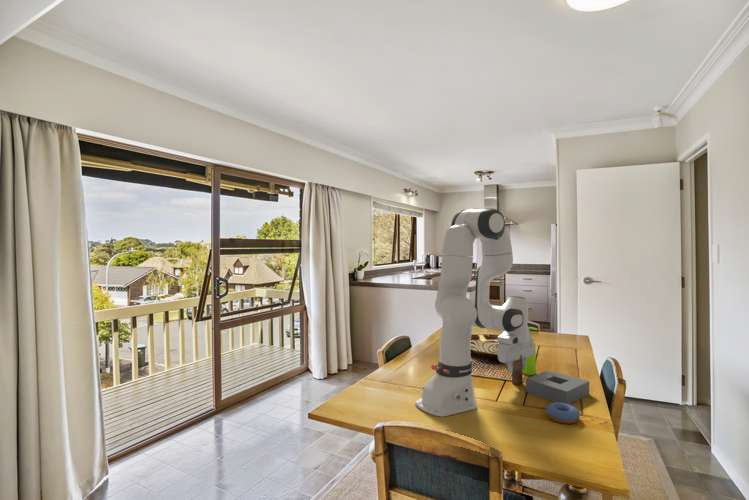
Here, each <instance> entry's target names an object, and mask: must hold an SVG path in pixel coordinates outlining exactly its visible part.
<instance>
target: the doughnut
mask: <svg viewBox="0 0 749 500" xmlns="http://www.w3.org/2000/svg"><path fill="white" fill-rule="evenodd" d="M545 413H546V416H547V417H548V418H549V419H550V420H551V421H553V422H556V423H558V424H565V425H573V424H575V423H578V421H579V420H580V418H581V417H580V416H581V413H580V412H579V409H578V408H576V407H575V406H574V405H572V404H570V405H569V404H566V403H561V402H554V401H553V402H551V403H547V406H546V407H545Z"/></svg>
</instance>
